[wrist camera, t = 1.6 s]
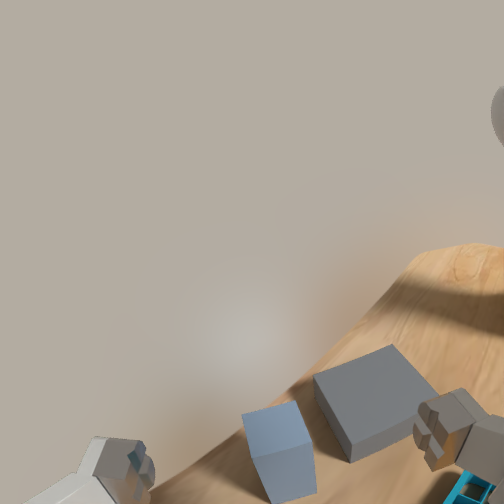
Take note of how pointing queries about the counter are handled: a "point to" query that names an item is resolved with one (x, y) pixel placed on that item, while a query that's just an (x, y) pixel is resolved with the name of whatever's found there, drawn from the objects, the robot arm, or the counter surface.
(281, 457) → the slate-blue block
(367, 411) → the charcoal block
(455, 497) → the ice cube tray
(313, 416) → the counter surface
